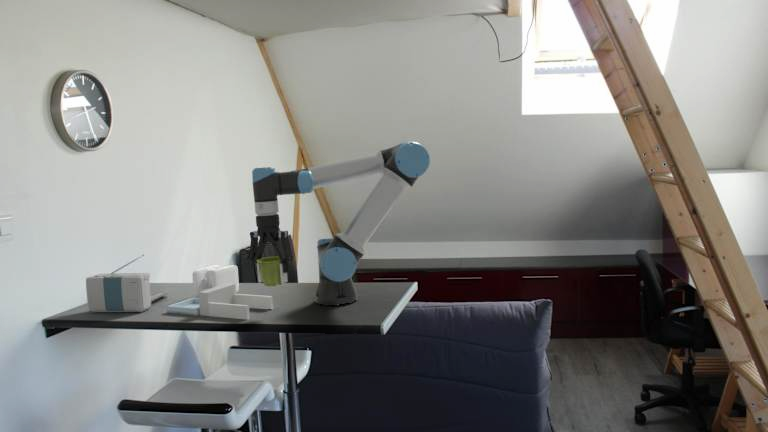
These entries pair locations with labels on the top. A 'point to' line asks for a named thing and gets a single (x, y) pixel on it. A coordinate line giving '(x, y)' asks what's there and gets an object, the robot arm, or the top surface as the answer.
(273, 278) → the plant pot
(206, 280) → the cable organizer
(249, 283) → the top surface
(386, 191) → the robot arm
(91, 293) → the stereo radio cassette player
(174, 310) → the tray
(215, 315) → the bay
